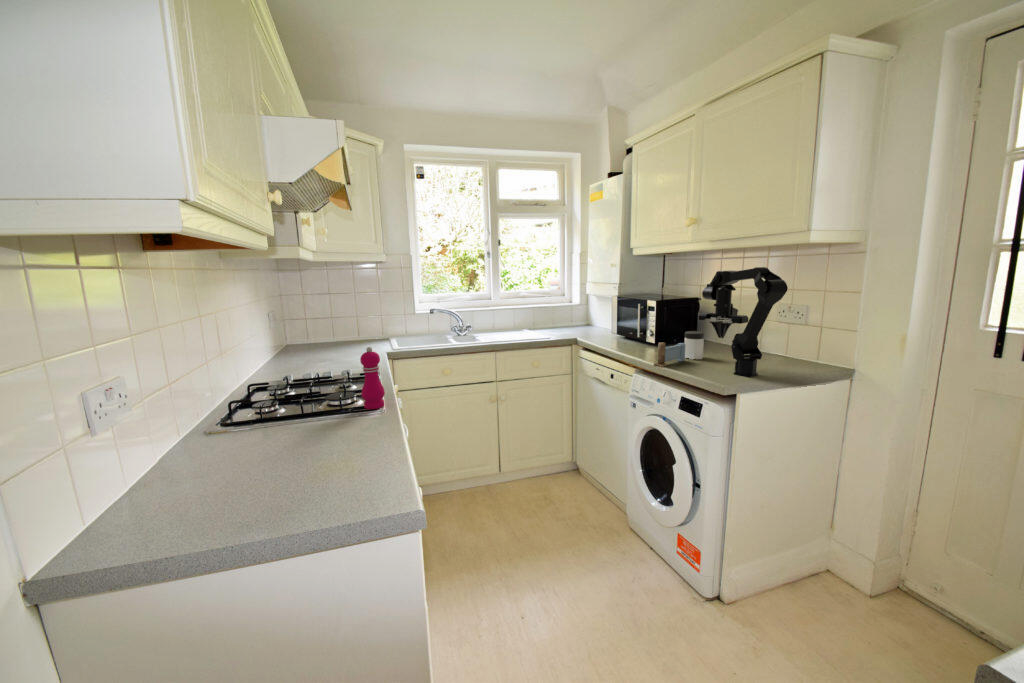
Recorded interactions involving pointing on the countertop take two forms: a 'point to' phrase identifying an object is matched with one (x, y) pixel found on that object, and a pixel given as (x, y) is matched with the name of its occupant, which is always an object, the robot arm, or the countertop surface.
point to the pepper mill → (372, 381)
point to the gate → (675, 352)
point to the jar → (694, 344)
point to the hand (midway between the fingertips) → (721, 338)
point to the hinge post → (661, 355)
